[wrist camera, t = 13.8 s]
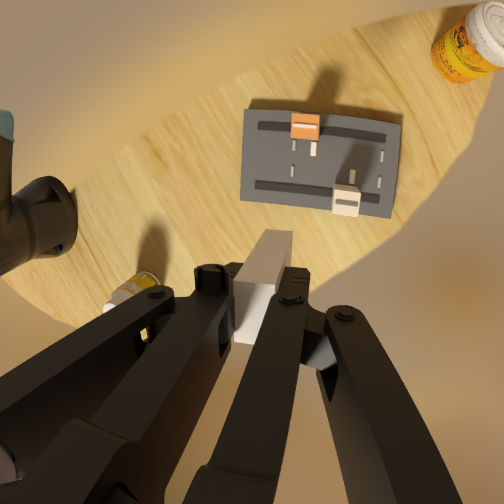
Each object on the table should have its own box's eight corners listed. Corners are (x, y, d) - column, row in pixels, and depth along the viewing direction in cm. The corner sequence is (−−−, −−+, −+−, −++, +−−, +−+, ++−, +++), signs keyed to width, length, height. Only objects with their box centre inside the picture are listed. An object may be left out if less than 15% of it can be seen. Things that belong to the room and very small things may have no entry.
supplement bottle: (143, 263, 45) (106, 290, 36) (168, 287, 45) (135, 318, 36) (130, 284, 47) (94, 313, 38) (153, 306, 47) (121, 338, 38)
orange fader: (295, 138, 31) (290, 137, 27) (296, 117, 31) (291, 112, 26) (319, 140, 31) (317, 139, 26) (320, 119, 30) (319, 115, 25)
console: (243, 198, 37) (239, 200, 36) (247, 110, 33) (243, 108, 32) (388, 215, 34) (391, 219, 32) (398, 125, 30) (401, 124, 28)
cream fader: (331, 204, 33) (331, 214, 28) (333, 183, 32) (334, 189, 28) (353, 207, 32) (358, 217, 28) (356, 186, 32) (361, 193, 27)
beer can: (422, 41, 25) (468, -7, 11) (461, 41, 23) (517, 2, 9) (437, 86, 26) (496, 58, 13) (476, 84, 25) (542, 64, 11)
